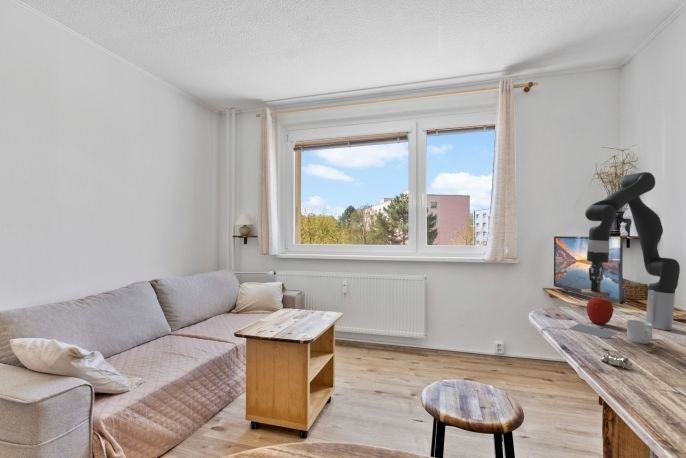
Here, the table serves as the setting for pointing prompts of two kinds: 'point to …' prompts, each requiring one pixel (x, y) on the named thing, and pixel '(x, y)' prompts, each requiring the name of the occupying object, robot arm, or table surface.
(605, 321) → the apple
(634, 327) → the cup
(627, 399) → the table surface
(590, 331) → the mat
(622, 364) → the ornament
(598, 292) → the lid
